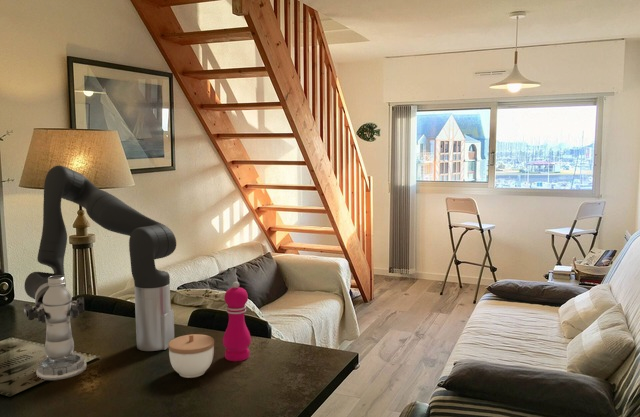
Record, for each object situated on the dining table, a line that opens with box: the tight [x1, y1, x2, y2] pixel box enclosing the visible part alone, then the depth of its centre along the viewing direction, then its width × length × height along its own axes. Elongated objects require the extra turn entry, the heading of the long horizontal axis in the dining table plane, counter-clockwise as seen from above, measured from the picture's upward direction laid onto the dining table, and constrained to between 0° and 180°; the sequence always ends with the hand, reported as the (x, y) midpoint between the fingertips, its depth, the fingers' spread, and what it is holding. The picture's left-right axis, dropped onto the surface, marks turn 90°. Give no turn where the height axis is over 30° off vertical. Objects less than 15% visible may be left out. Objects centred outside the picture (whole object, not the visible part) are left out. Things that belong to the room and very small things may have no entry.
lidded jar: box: [167, 333, 215, 379], centre depth 127 cm, size 11×11×9 cm
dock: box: [35, 352, 87, 381], centre depth 129 cm, size 11×11×2 cm
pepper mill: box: [222, 281, 252, 362], centre depth 137 cm, size 7×7×20 cm
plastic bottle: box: [43, 275, 75, 360], centre depth 128 cm, size 6×7×20 cm
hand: (59, 316), depth 126 cm, fingers closed on plastic bottle, 6 cm apart
